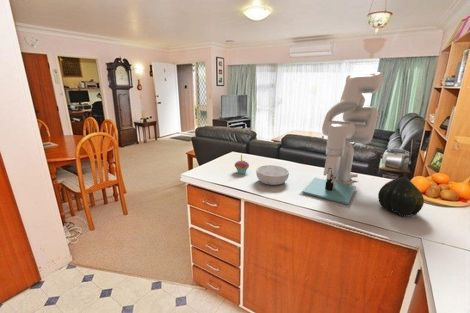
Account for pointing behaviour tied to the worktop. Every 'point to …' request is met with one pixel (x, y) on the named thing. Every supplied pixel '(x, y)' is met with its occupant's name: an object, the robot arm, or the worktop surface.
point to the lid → (338, 193)
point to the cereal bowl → (272, 174)
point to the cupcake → (241, 166)
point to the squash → (401, 197)
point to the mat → (331, 200)
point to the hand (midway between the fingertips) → (330, 187)
